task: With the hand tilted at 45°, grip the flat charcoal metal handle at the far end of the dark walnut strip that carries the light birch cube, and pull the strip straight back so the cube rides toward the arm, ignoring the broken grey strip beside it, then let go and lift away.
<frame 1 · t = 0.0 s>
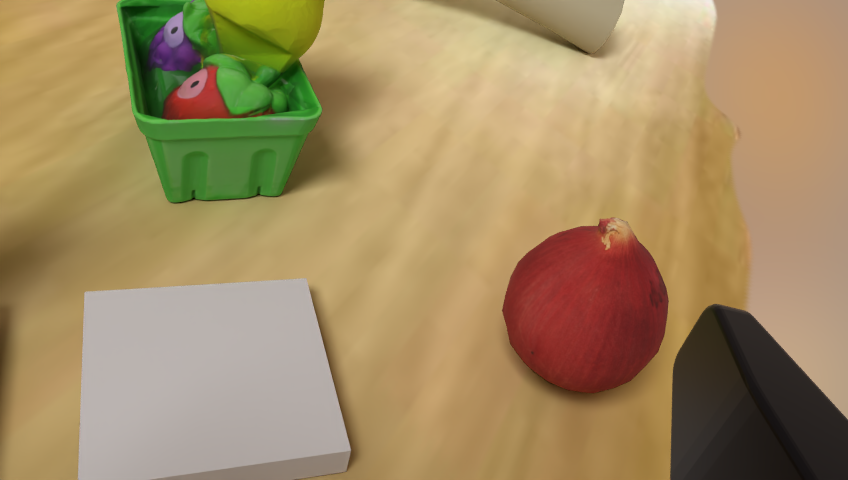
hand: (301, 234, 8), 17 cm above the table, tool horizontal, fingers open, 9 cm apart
onion: (552, 378, 30), on the table
fruit basket: (223, 148, 38), on the table
flower vase: (367, 2, 55), on the table
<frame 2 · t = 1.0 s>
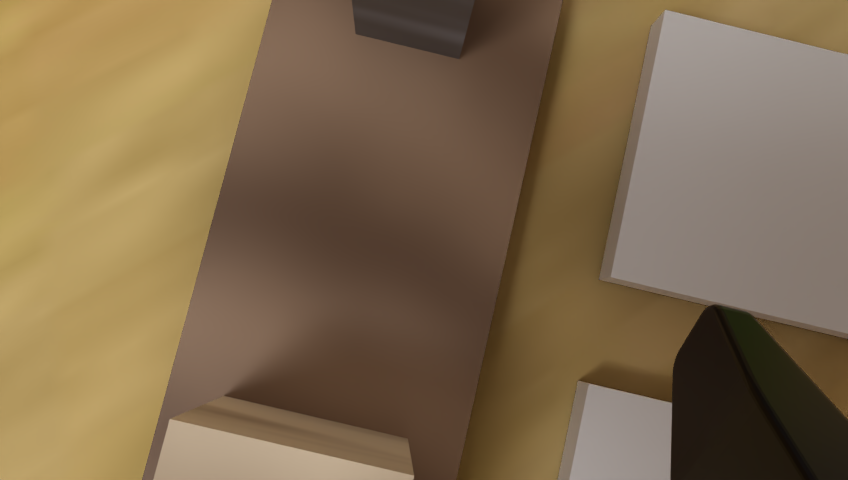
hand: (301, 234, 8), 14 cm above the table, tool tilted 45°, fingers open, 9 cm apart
walnut strip: (339, 251, 15), point 7 cm above the table, slide at 0.0 cm, touching birch cube
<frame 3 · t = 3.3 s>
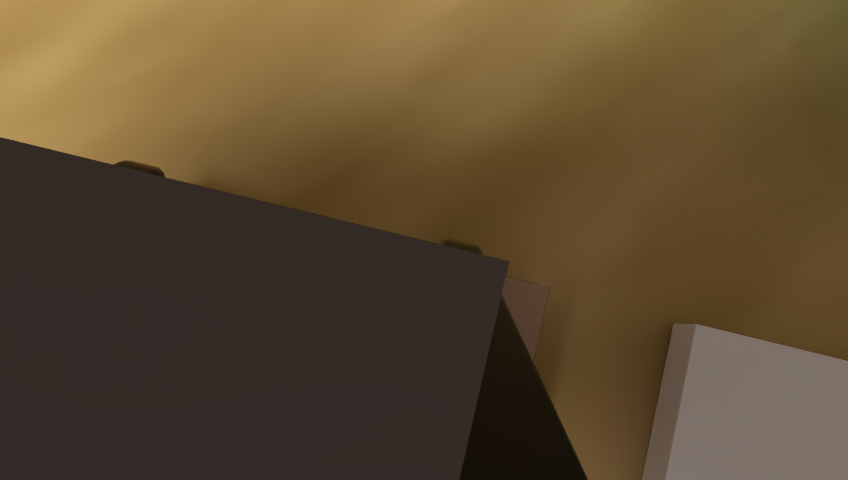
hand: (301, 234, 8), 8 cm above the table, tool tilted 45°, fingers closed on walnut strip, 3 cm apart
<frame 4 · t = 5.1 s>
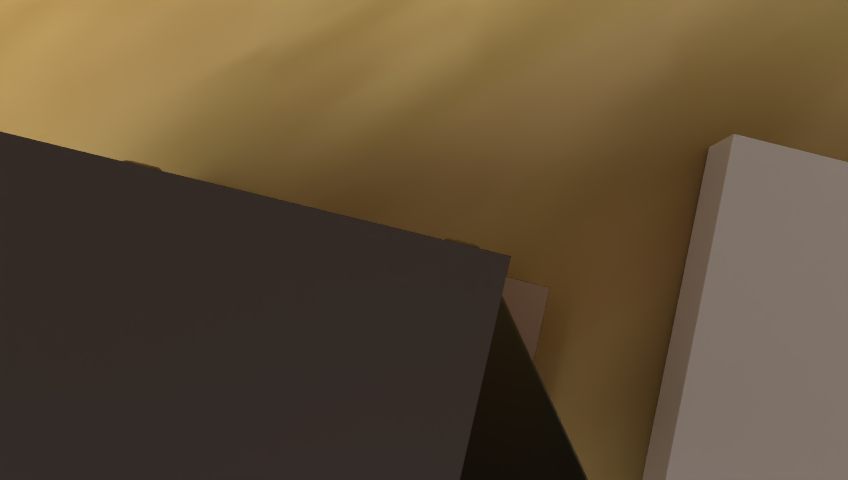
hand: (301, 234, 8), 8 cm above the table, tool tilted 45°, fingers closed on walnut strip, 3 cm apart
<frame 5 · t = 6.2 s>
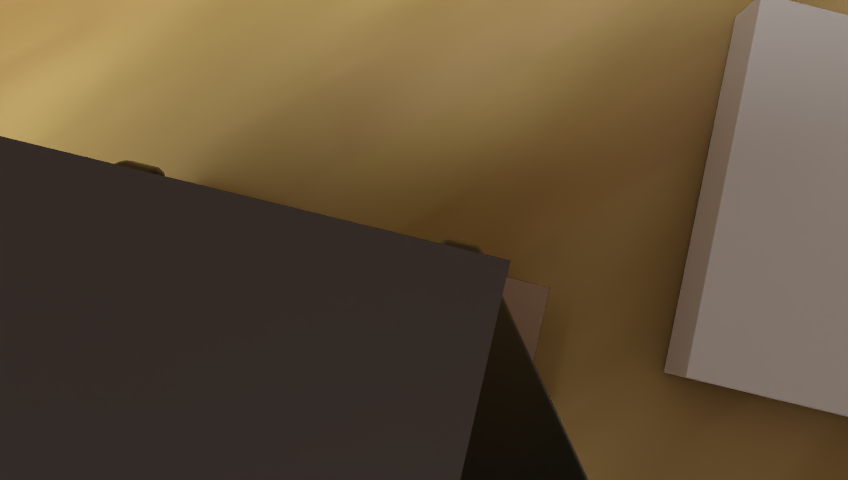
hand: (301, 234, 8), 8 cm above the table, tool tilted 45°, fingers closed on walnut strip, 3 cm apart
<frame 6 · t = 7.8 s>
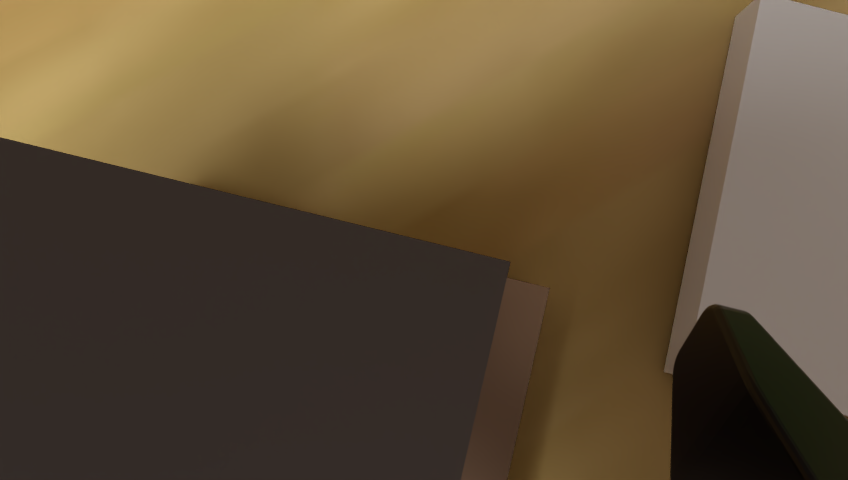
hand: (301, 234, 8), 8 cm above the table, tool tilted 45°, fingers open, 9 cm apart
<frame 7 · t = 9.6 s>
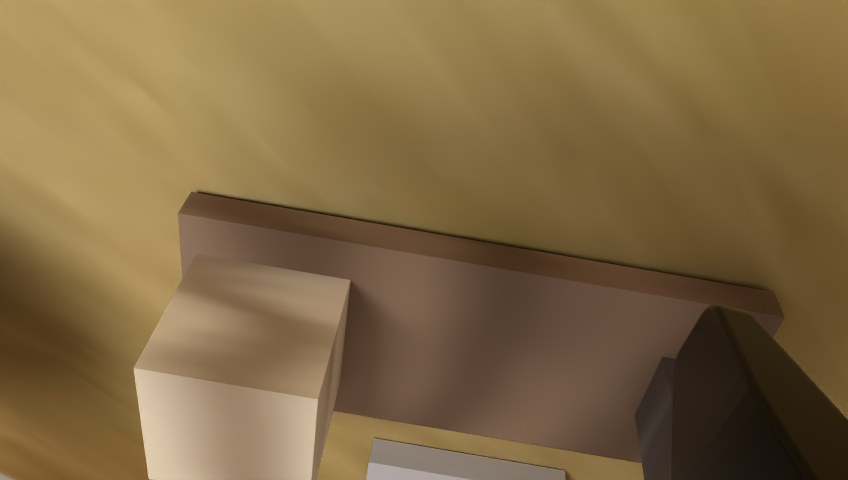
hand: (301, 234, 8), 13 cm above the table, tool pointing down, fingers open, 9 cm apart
birch cube: (272, 322, 26), point 1 cm above the table, touching walnut strip
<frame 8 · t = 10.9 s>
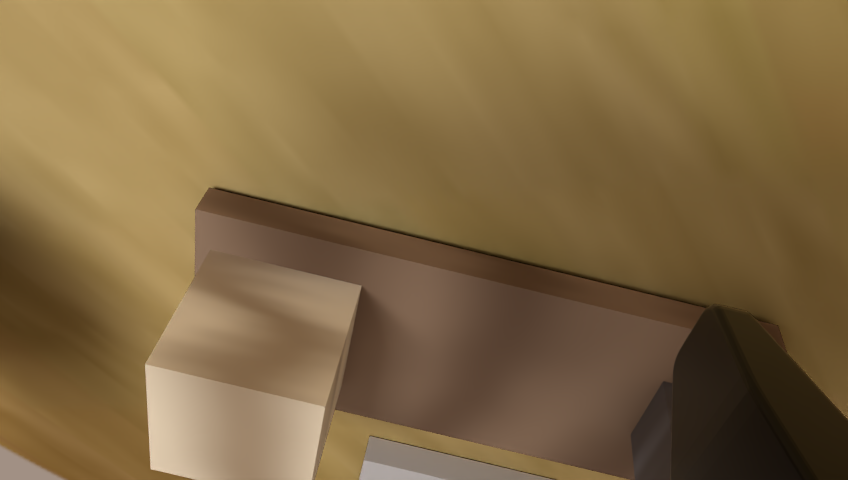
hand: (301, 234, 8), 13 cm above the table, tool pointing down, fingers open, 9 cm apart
birch cube: (280, 321, 26), point 1 cm above the table, touching walnut strip
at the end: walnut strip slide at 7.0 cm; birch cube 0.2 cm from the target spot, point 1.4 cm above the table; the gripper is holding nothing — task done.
